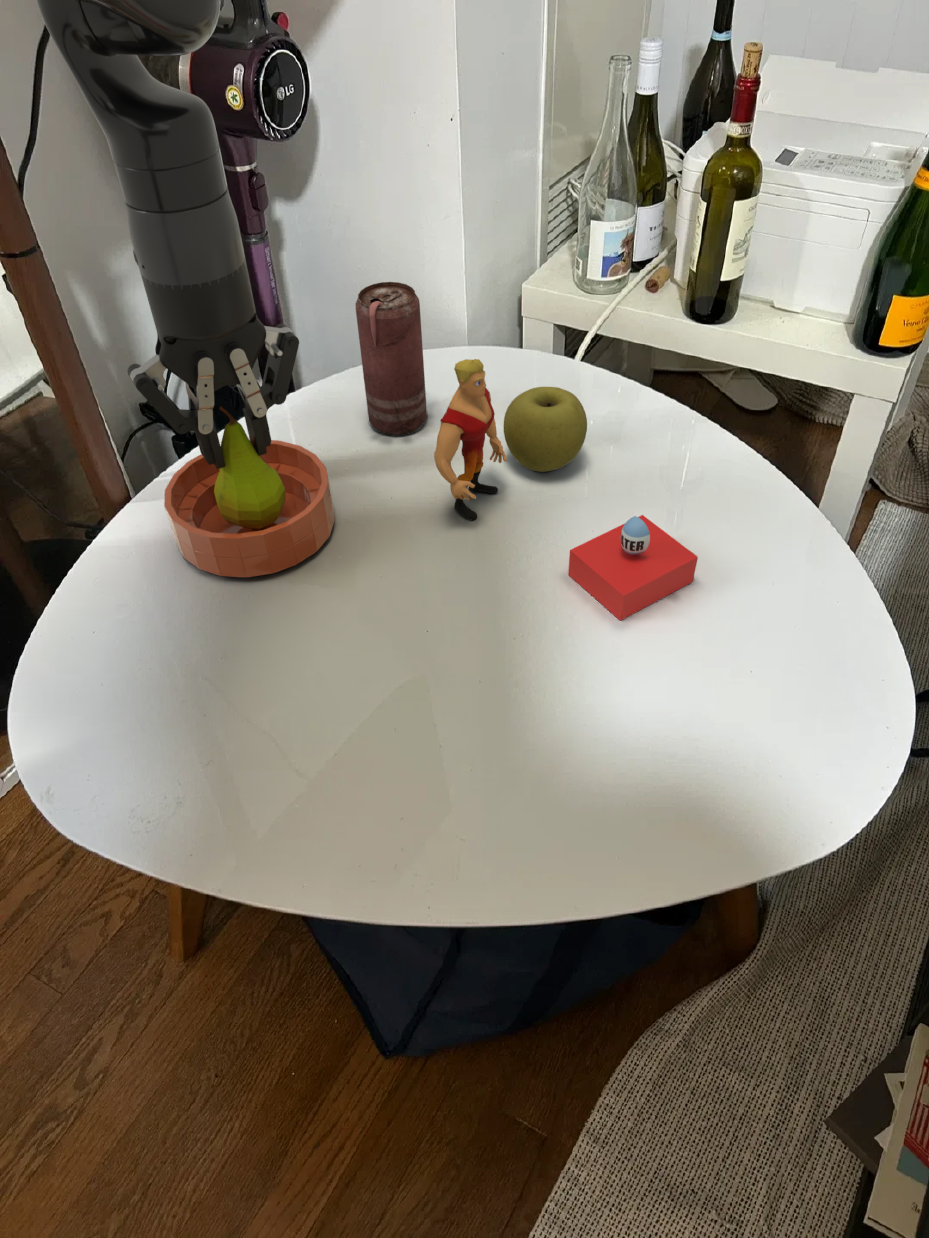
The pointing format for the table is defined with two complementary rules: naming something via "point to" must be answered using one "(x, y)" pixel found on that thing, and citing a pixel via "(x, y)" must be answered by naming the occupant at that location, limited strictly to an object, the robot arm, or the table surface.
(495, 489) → the action figure
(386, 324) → the can
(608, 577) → the red rectangular block
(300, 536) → the bowl
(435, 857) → the table surface
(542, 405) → the apple
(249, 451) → the fruit
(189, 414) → the robot arm
